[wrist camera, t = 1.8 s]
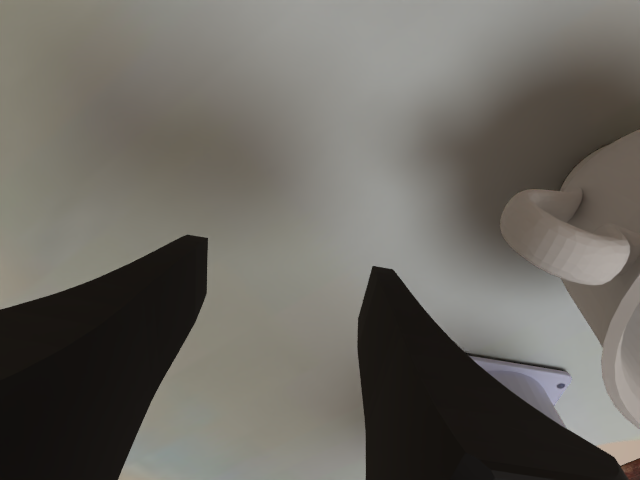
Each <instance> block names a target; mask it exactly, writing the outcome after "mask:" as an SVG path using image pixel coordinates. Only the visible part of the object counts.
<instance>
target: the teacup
mask: <svg viewBox="0 0 640 480" xmlns="http://www.w3.org/2000/svg"><path fill="white" fill-rule="evenodd" d="M500 229H501V233H502V236H503V237H504V239H505V241H506V242H507V243H508V244H509V245H510V246H511V248H512V249H513V250H515V251H516V252H517V253H518V254H520V255H521V256H522V257H524V258H525V259H526V260H528V261H529V262H530V263H532V264H533V265H534V266H536V267H538V268H540V269H542V270H544V271H546V272H548V273H549V274H552V275H555V276H557V277H560V278H561V279H562V281H563V283H564V285H565V287H566V289H567V291H568V292H569V294H570V296H571V297H572V299H573V300H574V302H575V304H576V305H577V307H578V308H579V310H580V311H581V313H582V315H583V316H584V318H585V319H586V321H587V323H588V324H589V326H590V327H591V329H592V330H593V332H594V334H595V335H596V337H597V338H598V340H599V342H600V344H601V346H602V347H603V351H602V358H601V365H602V378H603V381H604V384H605V387H606V390H607V393H608V395H609V397H610V398H611V400H612V402H613V404H614V405H615V407H616V408H617V409H618V410H619V411H620V412H621V414H622V415H623V416H624V417H625V418H626V419H627V420H629V421H630V422H631V423H632V424H634V425H635V426H636V427H637V428H639V429H640V129H639V130H637V131H634V132H632V133H630V134H628V135H626V136H624V137H622V138H620V139H618V140H616V141H615V142H613V143H612V144H609V145H607V146H604V147H602V148H600V149H598V150H596V151H595V152H593V153H592V154H590V155H589V156H587V157H586V158H585V159H583V160H582V161H581V162H580V163H579V164H578V165H577V166H576V167H575V168H574V169H573V170H572V171H571V173H570V174H569V175H568V176H567V178H566V180H565V181H564V183H563V185H562V187H561V189H560V191H553V190H543V189H528V190H524V191H522V192H519V193H517V194H516V195H514V196H513V197H512V198H511V199H510V201H509V202H508V203H507V205H506V206H505V208H504V210H503V213H502V216H501V221H500Z"/></svg>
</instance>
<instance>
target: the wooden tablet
mask: <svg viewBox="0 0 640 480" xmlns="http://www.w3.org/2000/svg"><path fill="white" fill-rule="evenodd" d="M620 467H621V468H622V470H623V471H624V473H625V474H626V476H627V478H628V479H629V480H640V458H639V459H636V460H634V461H631V462H629V463H626V464H624V465H622V466H620Z"/></svg>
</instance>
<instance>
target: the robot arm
mask: <svg viewBox="0 0 640 480" xmlns="http://www.w3.org/2000/svg"><path fill="white" fill-rule="evenodd" d="M207 250H208V238H204V237H198V236H192V235H185V236H183V237H181V238H179V239H177V240H175V241H173V242H171V243H169V244H167V245H165V246H163V247H161V248H160V249H158V250H156V251H154V252H152V253H150V254H148V255H146V256H144V257H142V258H140V259H138V260H136V261H134V262H132V263H130V264H128V265H125V266H123V267H121V268H119V269H117V270H114V271H112V272H110V273H108V274H106V275H103V276H101V277H99V278H96V279H94V280H92V281H89V282H86V283H84V284H81V285H79V286H76V287H73V288H70V289H67V290H65V291H62V292H59V293H56V294H53V295H50V296H46V297H43V298H39V299H36V300H33V301H29V302H26V303H22V304H19V305H16V306H12V307H9V308H5V309H1V310H0V480H118V478H119V475H120V473H121V470H122V468H123V466H124V463H125V461H126V459H127V456H128V454H129V451H130V449H131V447H132V444H133V442H134V440H135V437H136V435H137V432H138V430H139V428H140V426H141V423H142V421H143V419H144V417H145V414H146V412H147V410H148V408H149V405H150V403H151V401H152V399H153V397H154V395H155V393H156V391H157V389H158V387H159V385H160V383H161V382H162V380H163V378H164V376H165V375H166V373H167V371H168V369H169V368H170V366H171V364H172V362H173V361H174V359H175V357H176V355H177V354H178V352H179V350H180V348H181V347H182V345H183V343H184V341H185V340H186V338H187V336H188V334H189V332H190V331H191V329H192V327H193V325H194V323H195V322H196V319H197V317H198V314H199V312H200V309H201V307H202V304H203V302H204V299H205V297H206V294H207ZM358 358H359V368H360V378H361V387H362V396H363V406H364V415H365V430H366V480H629V479H628V478H627V476H626V474H625V473H624V471H623V470H622V468H621V467H620V465H619V464H618V463H617V461H616V459H615V458H614V457H613V456H611V455H609V454H608V453H606V452H604V451H603V450H601V449H600V448H598V447H596V446H595V445H593V444H591V443H590V442H588V441H586V440H585V439H583V438H581V437H580V436H578V435H576V434H575V433H573V432H571V431H570V430H568V429H567V428H566V426H565V425H564V423H563V421H562V419H561V418H560V416H559V414H558V412H557V411H556V409H555V407H554V406H555V404H556V403H557V401H558V400H559V398H560V397H561V396H562V394H563V393H564V391H565V390H566V388H567V387H568V386H569V384H570V383H571V381H572V377H571V375H570V374H569V373H568V372H566V371H560V370H554V369H548V368H542V367H536V366H529V365H523V364H517V363H511V362H505V361H499V360H493V359H487V358H480V357H474V356H468V355H467V354H466V353H465V352H464V351H463V350H462V349H461V348H460V347H458V346H457V345H456V344H455V343H454V342H453V341H452V340H451V339H450V338H449V337H448V335H447V334H446V333H445V332H444V331H443V330H442V329H441V328H440V327H439V326H438V325H437V324H436V323H435V321H434V320H433V319H432V318H431V317H430V316H429V315H428V313H427V312H426V311H425V310H424V309H423V307H422V306H421V305H420V304H419V302H418V301H417V300H416V299H415V297H414V296H413V295H412V294H411V292H410V291H409V290H408V288H407V287H406V286H405V284H404V283H403V282H402V280H401V279H400V278H399V276H398V275H397V274H396V273H395V271H394V270H393V269H388V268H382V267H376V266H373V267H372V270H371V274H370V278H369V281H368V285H367V289H366V292H365V296H364V300H363V303H362V307H361V311H360V314H359V318H358Z"/></svg>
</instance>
